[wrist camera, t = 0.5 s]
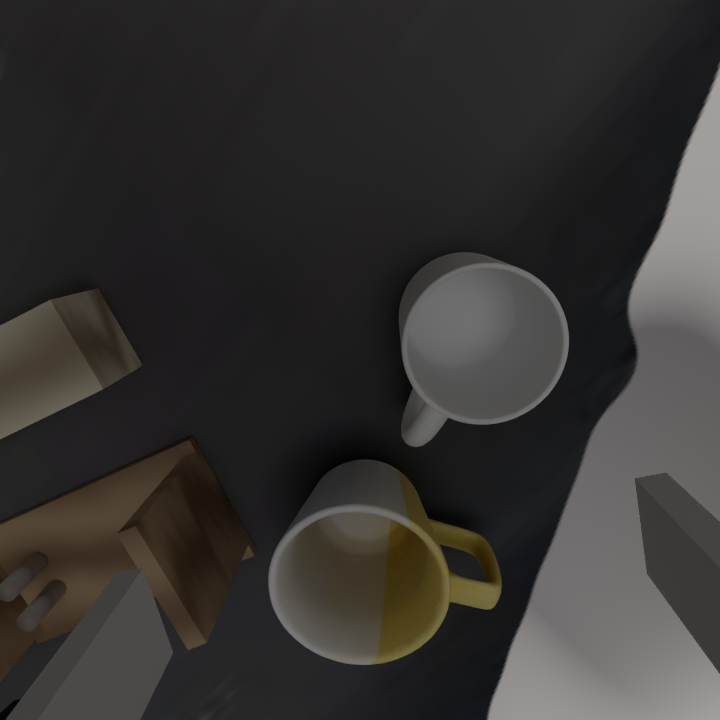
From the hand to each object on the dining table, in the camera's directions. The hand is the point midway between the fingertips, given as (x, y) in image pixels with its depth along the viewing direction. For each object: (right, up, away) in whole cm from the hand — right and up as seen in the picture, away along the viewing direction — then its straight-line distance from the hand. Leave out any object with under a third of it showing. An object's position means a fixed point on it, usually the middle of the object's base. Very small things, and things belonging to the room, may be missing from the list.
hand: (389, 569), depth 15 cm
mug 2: (+5, +7, +24) cm, 26 cm away
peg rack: (-19, -8, +29) cm, 36 cm away
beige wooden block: (-24, +5, +26) cm, 36 cm away
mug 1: (+1, -5, +27) cm, 28 cm away
